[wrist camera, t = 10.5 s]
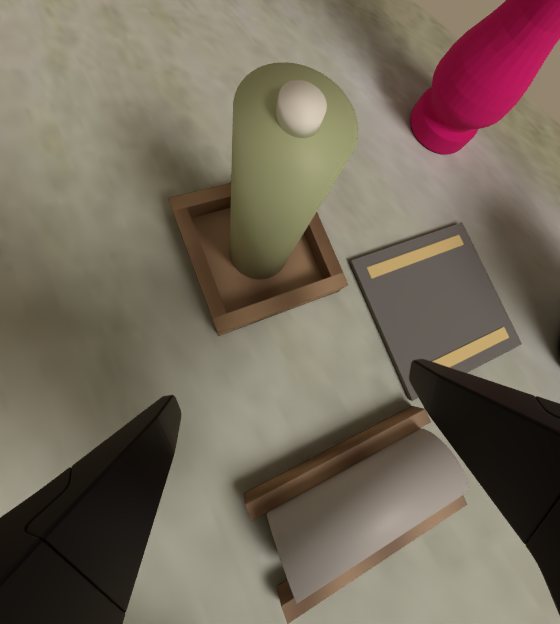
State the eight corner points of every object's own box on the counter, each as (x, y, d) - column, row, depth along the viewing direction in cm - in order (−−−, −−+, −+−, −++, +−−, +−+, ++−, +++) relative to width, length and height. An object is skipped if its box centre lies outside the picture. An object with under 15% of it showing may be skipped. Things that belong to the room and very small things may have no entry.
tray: (218, 335, 20) (217, 332, 18) (173, 213, 21) (167, 198, 19) (337, 291, 22) (348, 284, 20) (291, 183, 23) (297, 167, 21)
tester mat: (409, 399, 22) (413, 400, 21) (349, 262, 23) (351, 260, 22) (517, 344, 24) (522, 344, 24) (458, 224, 26) (462, 222, 25)
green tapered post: (260, 291, 20) (311, 189, 8) (217, 251, 20) (202, 89, 8) (297, 252, 22) (390, 111, 9) (256, 214, 21) (295, 21, 9)
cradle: (282, 602, 17) (287, 623, 16) (243, 493, 18) (245, 504, 17) (450, 494, 21) (467, 504, 19) (411, 406, 21) (425, 408, 20)
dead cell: (290, 575, 18) (303, 625, 14) (264, 502, 19) (269, 528, 15) (440, 481, 21) (489, 498, 16) (410, 423, 22) (448, 426, 18)
